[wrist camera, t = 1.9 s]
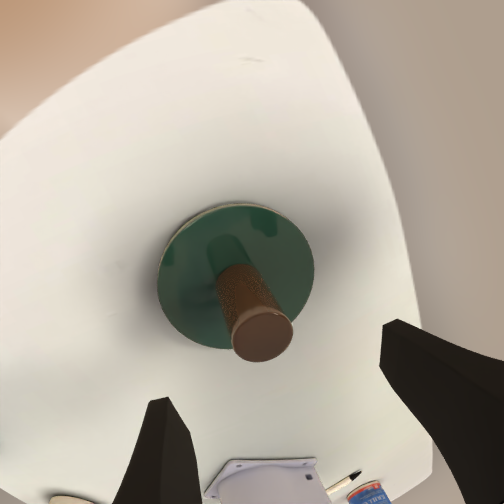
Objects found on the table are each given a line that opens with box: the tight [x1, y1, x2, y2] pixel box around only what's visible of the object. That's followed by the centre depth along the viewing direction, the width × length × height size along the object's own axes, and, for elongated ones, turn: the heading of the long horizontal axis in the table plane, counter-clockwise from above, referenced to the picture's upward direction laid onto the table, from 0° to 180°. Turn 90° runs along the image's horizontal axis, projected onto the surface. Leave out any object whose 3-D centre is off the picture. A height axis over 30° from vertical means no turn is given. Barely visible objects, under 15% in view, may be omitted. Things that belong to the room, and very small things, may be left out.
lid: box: [157, 203, 314, 362], centre depth 14 cm, size 8×8×6 cm
